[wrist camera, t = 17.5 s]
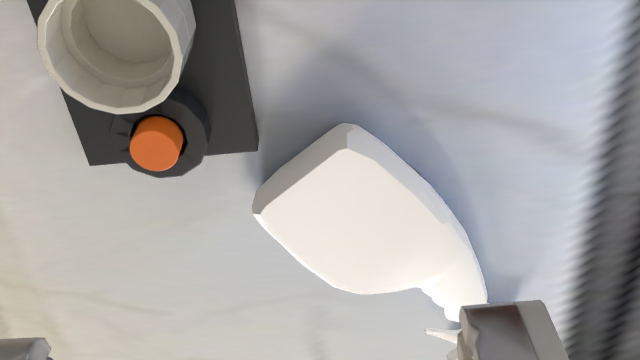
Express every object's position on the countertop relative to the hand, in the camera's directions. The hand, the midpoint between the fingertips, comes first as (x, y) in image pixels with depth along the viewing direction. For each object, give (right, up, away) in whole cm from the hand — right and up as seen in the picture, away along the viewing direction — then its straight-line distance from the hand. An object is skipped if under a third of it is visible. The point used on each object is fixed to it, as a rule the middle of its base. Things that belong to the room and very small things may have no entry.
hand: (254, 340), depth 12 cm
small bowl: (-9, +12, +21) cm, 26 cm away
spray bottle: (+8, -2, +34) cm, 35 cm away
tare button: (-8, +6, +24) cm, 26 cm away
